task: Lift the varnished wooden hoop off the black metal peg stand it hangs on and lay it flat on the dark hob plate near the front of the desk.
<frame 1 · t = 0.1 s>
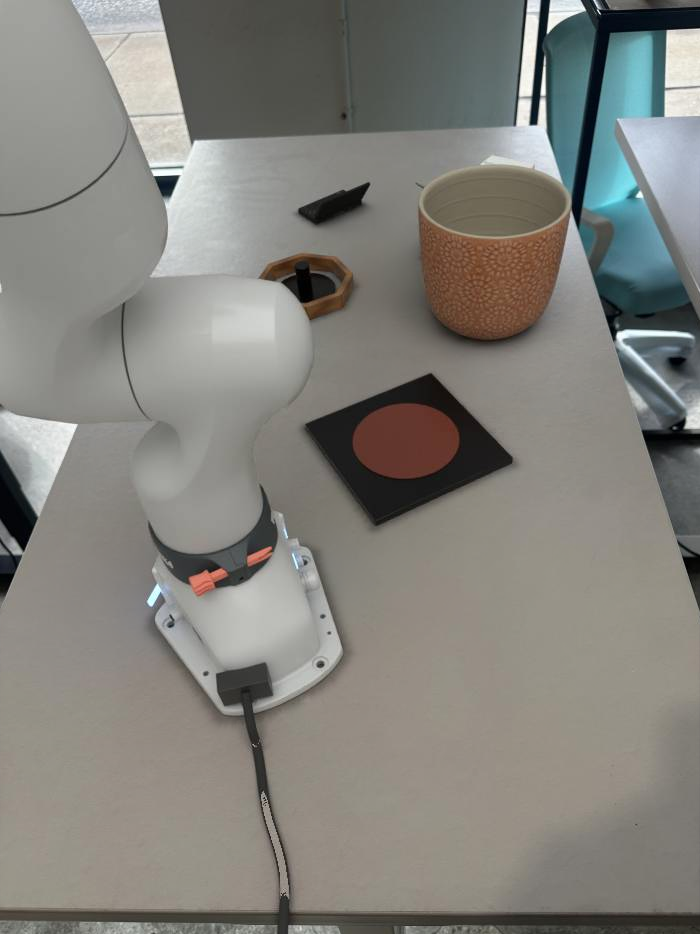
ink box: (502, 231, 130), on the table
hob plate: (406, 445, 96), on the table
hoop: (305, 292, 121), on the table
mate gourd: (441, 260, 125), on the table
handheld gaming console: (335, 213, 138), on the table
planter: (486, 317, 114), on the table
peg stand: (305, 292, 121), on the table
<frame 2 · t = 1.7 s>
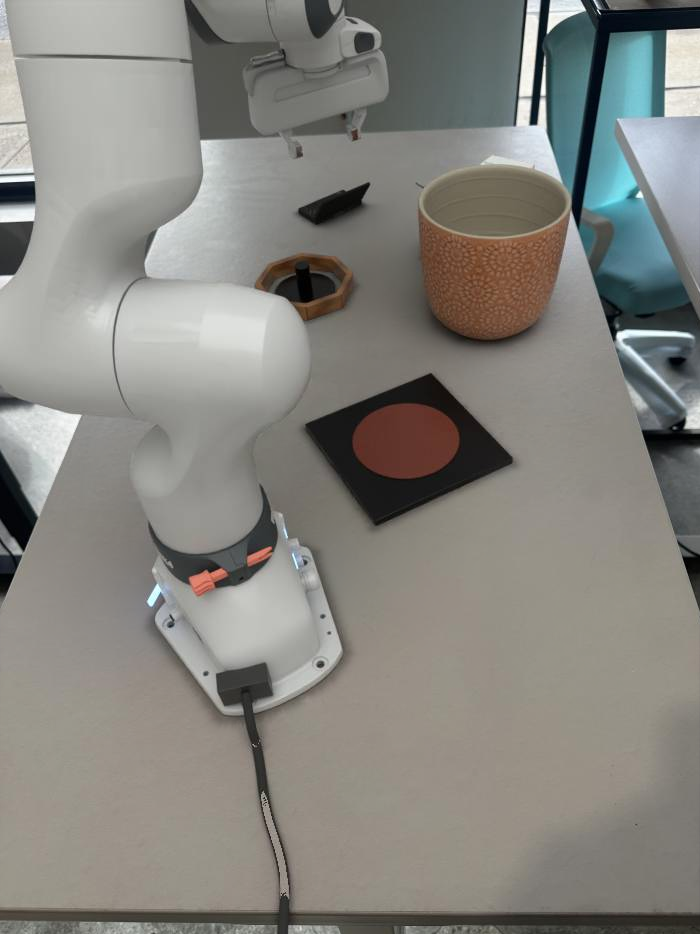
hand: (325, 147, 107), 21 cm above the table, tool pointing down, fingers open, 8 cm apart
nothing on the table moved.
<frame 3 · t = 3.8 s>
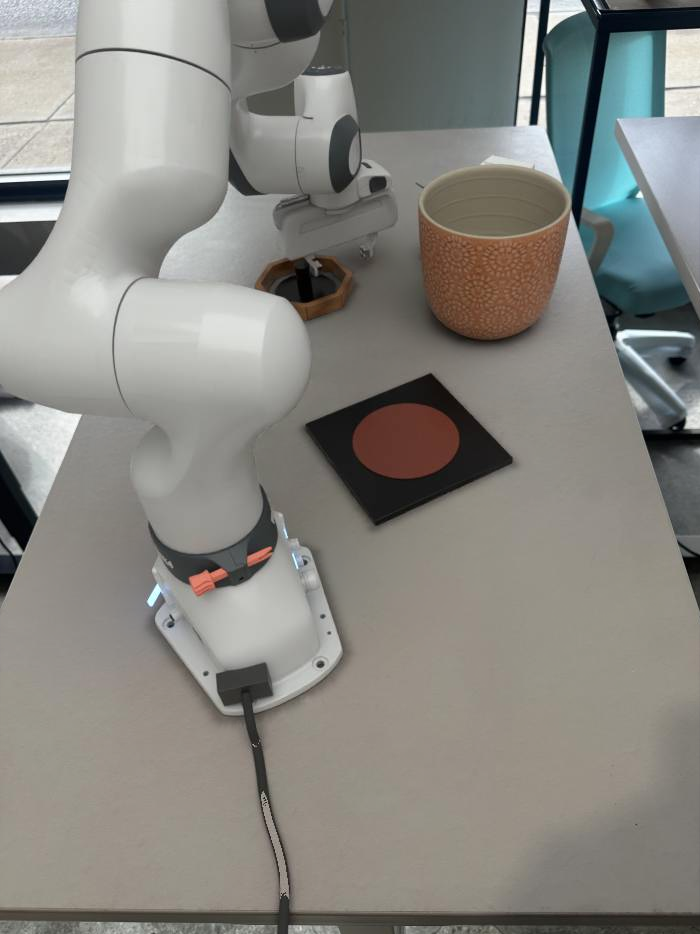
hand: (342, 265, 121), 2 cm above the table, tool pointing down, fingers open, 8 cm apart
nothing on the table moved.
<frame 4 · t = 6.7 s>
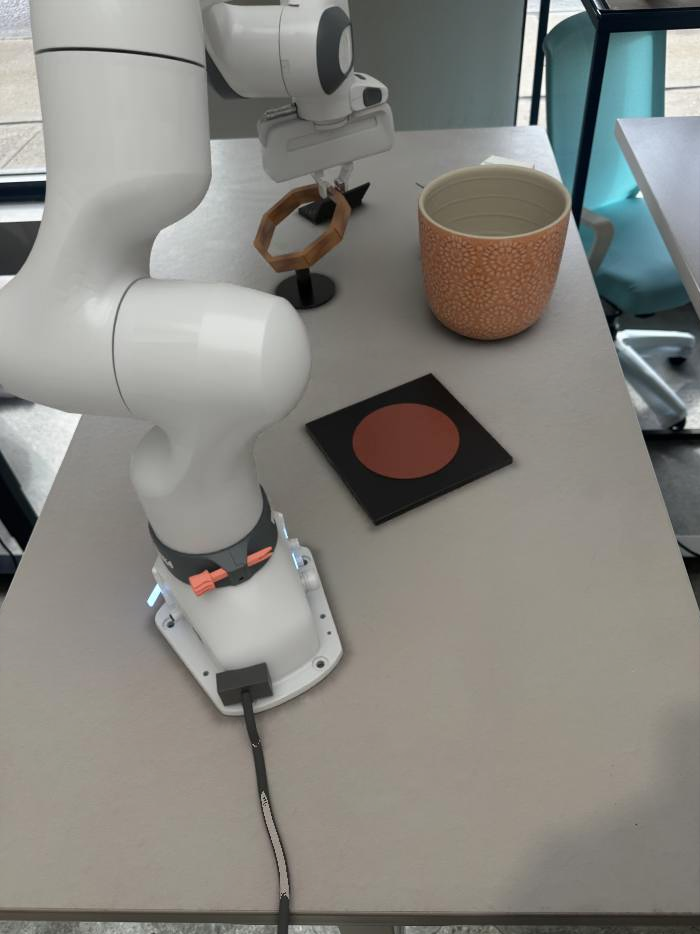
hand: (334, 193, 111), 15 cm above the table, tool pointing down, fingers closed on hoop
hoop: (305, 232, 113), point 10 cm above the table, tilted 25°, touching gripper
everything else where it was.
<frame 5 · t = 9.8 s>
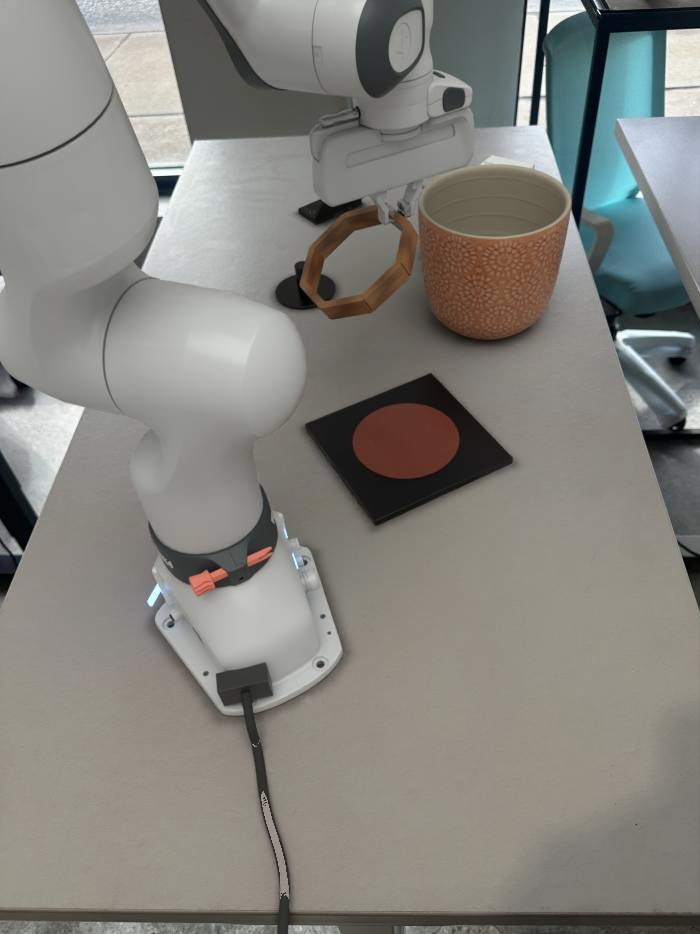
hand: (396, 218, 90), 22 cm above the table, tool pointing down, fingers closed on hoop
hoop: (362, 267, 93), point 18 cm above the table, tilted 29°, touching gripper
everything else where it was.
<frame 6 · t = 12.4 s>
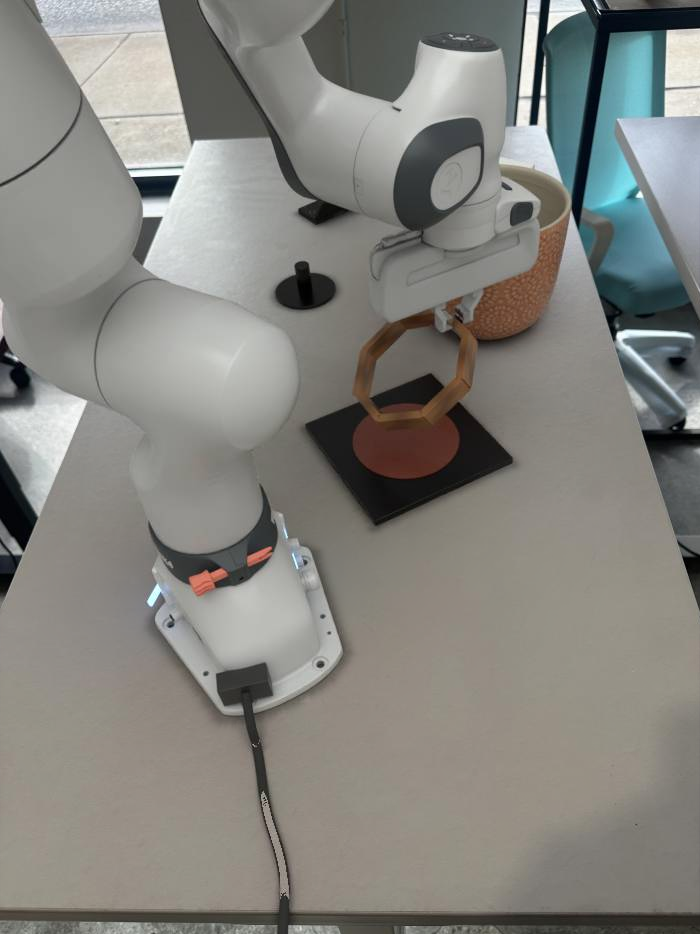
hand: (454, 324, 86), 16 cm above the table, tool pointing down, fingers closed on hoop
hoop: (418, 373, 88), point 11 cm above the table, tilted 32°, touching gripper
everything else where it was.
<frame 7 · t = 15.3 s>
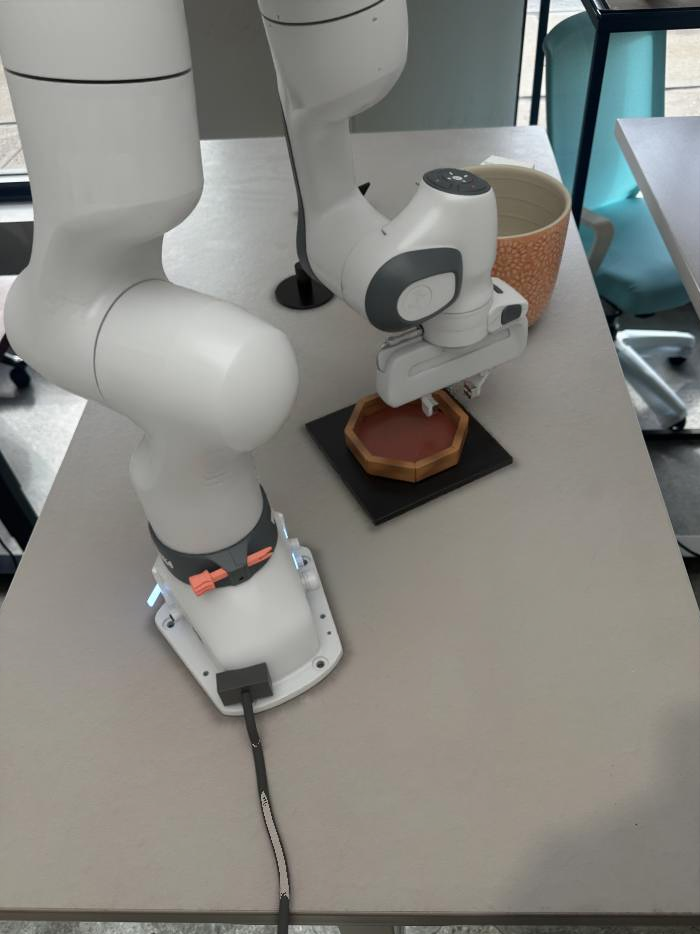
hand: (451, 403, 95), 4 cm above the table, tool pointing down, fingers open, 5 cm apart
hoop: (407, 437, 96), point 1 cm above the table, touching hob plate
everything else where it was.
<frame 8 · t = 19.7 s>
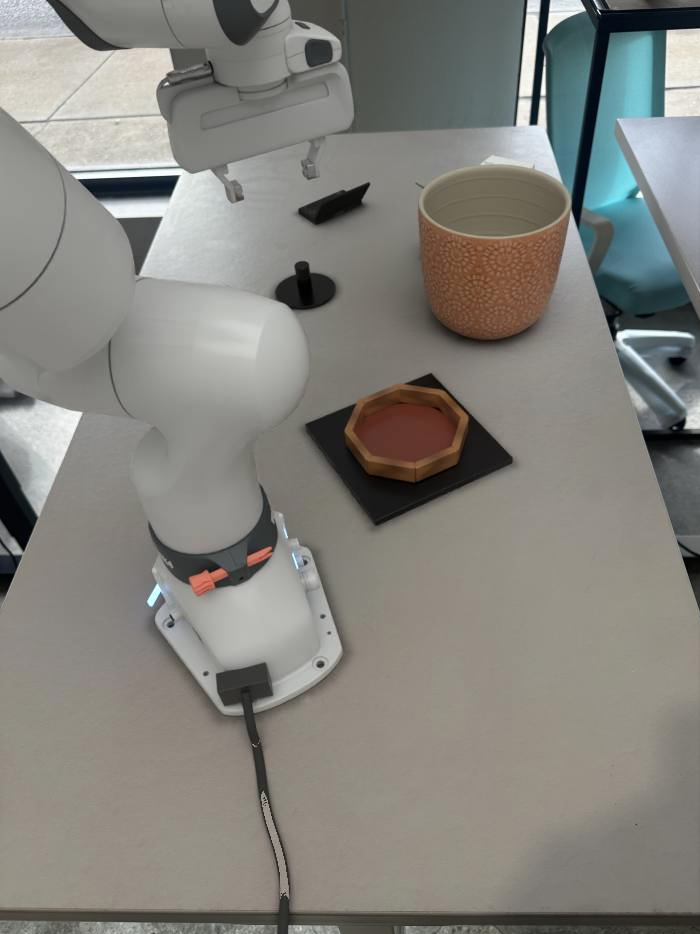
hand: (274, 188, 83), 29 cm above the table, tool pointing down, fingers open, 8 cm apart
nothing on the table moved.
at the end: hoop inside the target area on the hob plate (0.3 cm from its centre), point 1.2 cm above the hob plate's base; hoop tilted 0°; the gripper is holding nothing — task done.
